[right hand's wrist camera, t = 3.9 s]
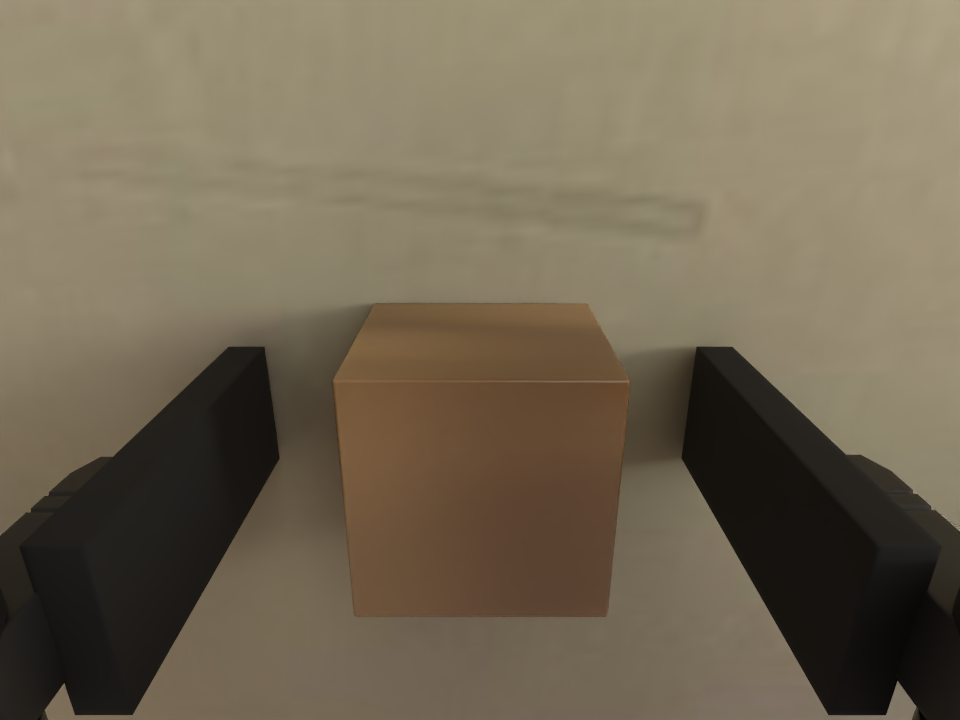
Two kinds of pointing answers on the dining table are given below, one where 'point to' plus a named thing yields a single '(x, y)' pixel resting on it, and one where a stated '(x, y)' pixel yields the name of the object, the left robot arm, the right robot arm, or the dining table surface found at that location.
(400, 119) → the dining table surface
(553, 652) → the dining table surface
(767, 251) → the dining table surface
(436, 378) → the block
